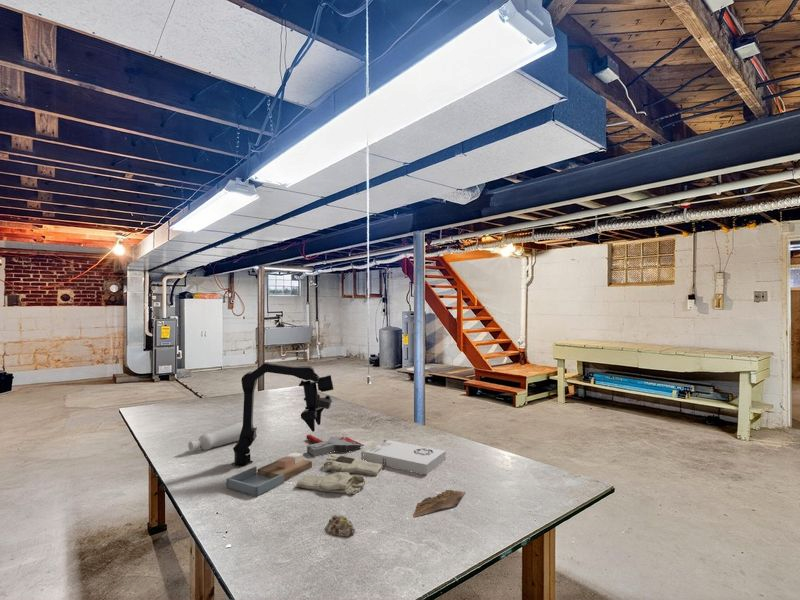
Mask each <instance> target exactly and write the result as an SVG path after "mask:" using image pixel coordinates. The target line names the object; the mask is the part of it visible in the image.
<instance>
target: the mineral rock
mask: <svg viewBox="0 0 800 600" xmlns="http://www.w3.org/2000/svg"><path fill="white" fill-rule="evenodd" d="M326 530H327V533H330V534H332V535H336V536H339V537H349V536H354V535H355V534H354V533H355V530H356V528H355V527H354V525H353V524H352V521H351V520H349V519H347V517H345V516H344V515H341V514H340V515H339V516H338V515H335V514H334V515H332V516H331V518H329V520H328V522H327V524H326Z"/></svg>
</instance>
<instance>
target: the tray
mask: <svg viewBox="0 0 800 600" xmlns="http://www.w3.org/2000/svg"><path fill="white" fill-rule="evenodd" d="M257 469H258V468H257V466H253V467H251V468H248V469H245V470H244V471H242V472H241V471H240V472H239V473H237V474H235V475H232V476H230V477H228V478H226V489H229V490H231V491H234V492H238V493H241V494H245V495H247V496H252V497H254V498H258V497H259V496H261V495H264V494H266V493H267V492H270V491H271V490H274V489H275V488H277V487H279V486H281V485H284V483H285V481H284V474H281V475H278V476H276V477H274V478H269V477H265V476H261V475H257Z"/></svg>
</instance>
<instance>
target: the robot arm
mask: <svg viewBox="0 0 800 600" xmlns="http://www.w3.org/2000/svg"><path fill="white" fill-rule="evenodd" d="M266 373H270V374H279V375H286V376H293V377H295V378H297V379H301V381H300V383H299V384H298V387H303V391H304V398H303V401H305V407H304V408H305V409H304V410H303V411H302V412H301V413H300V418H301V420H303V421H304V422H305V424H306V425H307V426H308V428H309V430H310V431H311V432H315V431H316V424H315V423H317V426H320V425H321V421H322V413H323V411H324V410H325V409H326V410H329V409H330V408H331V406H332V402H333V401H332V400H333V399H332V398H331V396H330V395H326V396H325V397H321V395H320V394H319V393H318V391H320V392H321V393H323V392H329V391H334V383H333V379H332V375H331V374H330V375H329V374H327V375H326V376H321V377H320V376H319V375H318V374H317V373H316V372H315V369H314V367H313V366H311V365H301V366H299V365H298V366H291V365H285V364H284V365H283V364H277V363H271V362H270V363H269V362H264V363H263V364H261V365H260V366H259V367H257V368H256V369H255V370H253V371H248V372H247V373H245V374H243V375H242V377H241V388H242V390H243V391H242V392H243V409H242V411H243V413H242V421H243V427H242V430H241V433H240V437H239V441H236V444H234V445H235V446H234V447H233V448H232V450H233V452H234V458H233V459H234V462H231V465H232V466H236V467H241V468H242V467H245V466H247V465H249V464H252V463H253V462H254V461H253V460H251V449H250V447H251V446H252V445H253V443H254V442H255V440H256V438H257V436H258V435H257V429H258V427H257V426H256V427H255V426H254V403H255V402H254V401H255V399H254V397H255V390H256V388H257V384H258V379H259V378H260V377H262V376H263V375H264V374H266Z"/></svg>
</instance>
